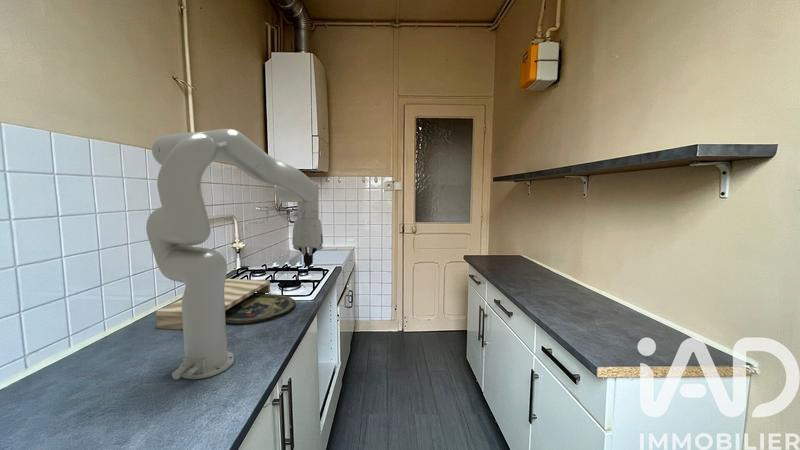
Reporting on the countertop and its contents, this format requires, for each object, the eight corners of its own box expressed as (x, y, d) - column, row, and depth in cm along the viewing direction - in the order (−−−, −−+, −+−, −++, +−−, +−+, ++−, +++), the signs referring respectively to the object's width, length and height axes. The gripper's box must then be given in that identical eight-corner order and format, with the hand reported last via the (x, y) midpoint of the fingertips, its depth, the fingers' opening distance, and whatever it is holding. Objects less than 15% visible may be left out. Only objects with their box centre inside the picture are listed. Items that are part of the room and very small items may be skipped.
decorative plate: (267, 324, 109) (190, 316, 114) (267, 330, 109) (190, 322, 115) (309, 296, 138) (246, 291, 144) (309, 301, 138) (246, 295, 144)
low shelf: (214, 330, 107) (213, 313, 106) (157, 328, 109) (156, 310, 108) (270, 293, 146) (269, 280, 145) (227, 291, 147) (227, 278, 147)
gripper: (283, 215, 115) (284, 266, 116) (325, 216, 114) (325, 268, 115) (292, 214, 122) (292, 262, 124) (331, 215, 121) (330, 264, 123)
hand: (308, 265), depth 120 cm, fingers closed
